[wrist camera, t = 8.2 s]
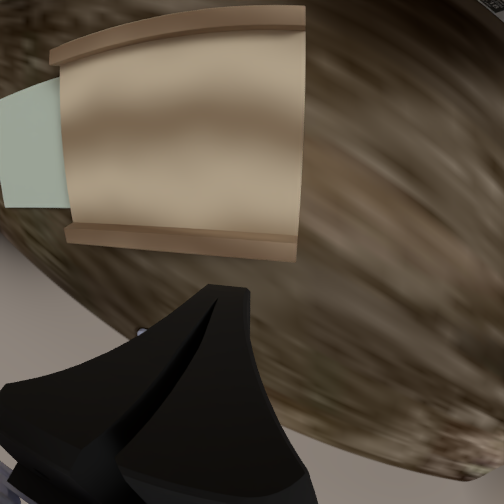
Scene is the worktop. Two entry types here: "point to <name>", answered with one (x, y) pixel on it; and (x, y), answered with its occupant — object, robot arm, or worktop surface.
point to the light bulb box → (494, 7)
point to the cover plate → (33, 148)
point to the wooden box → (187, 132)
